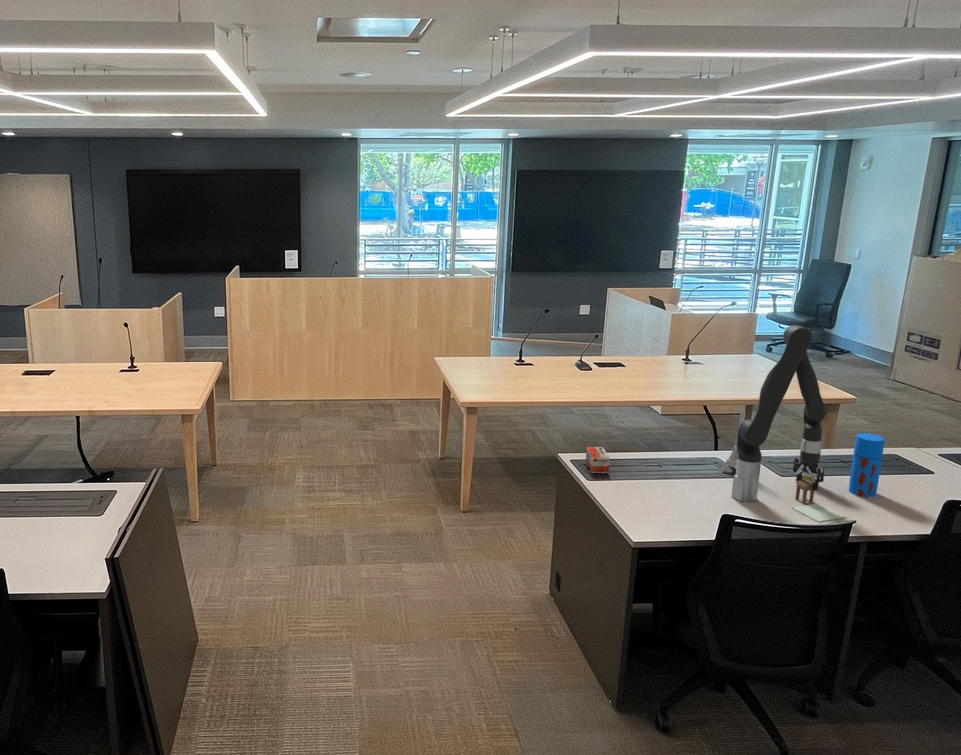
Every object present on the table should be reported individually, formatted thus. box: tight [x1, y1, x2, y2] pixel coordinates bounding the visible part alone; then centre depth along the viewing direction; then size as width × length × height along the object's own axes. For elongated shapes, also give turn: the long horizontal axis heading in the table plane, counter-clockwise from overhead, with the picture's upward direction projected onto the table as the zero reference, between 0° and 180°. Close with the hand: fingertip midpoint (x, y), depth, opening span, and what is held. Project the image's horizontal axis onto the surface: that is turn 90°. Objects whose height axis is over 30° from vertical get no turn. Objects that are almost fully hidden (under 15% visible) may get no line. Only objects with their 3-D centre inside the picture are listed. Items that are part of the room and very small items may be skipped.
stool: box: [794, 480, 815, 504], centre depth 314 cm, size 5×5×8 cm
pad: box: [791, 503, 847, 523], centre depth 303 cm, size 14×14×1 cm
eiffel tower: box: [716, 408, 747, 474], centre depth 344 cm, size 13×13×30 cm
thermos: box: [848, 432, 885, 498], centre depth 322 cm, size 11×11×25 cm
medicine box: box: [585, 446, 611, 473], centre depth 346 cm, size 15×8×8 cm, turn 3°
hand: (806, 486), depth 314 cm, fingers open, 8 cm apart
